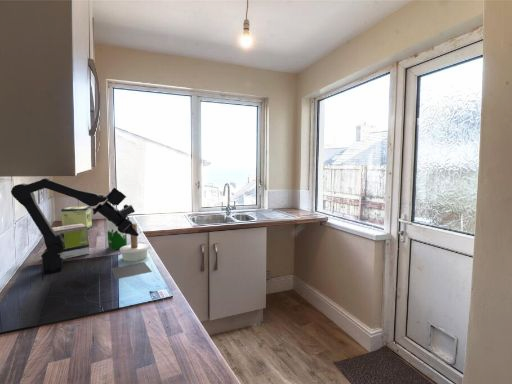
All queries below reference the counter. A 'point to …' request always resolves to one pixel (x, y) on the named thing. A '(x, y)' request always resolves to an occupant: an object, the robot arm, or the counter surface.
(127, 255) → the bowl
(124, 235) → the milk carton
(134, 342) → the counter surface
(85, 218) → the protein box
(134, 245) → the peg on round base
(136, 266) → the mat
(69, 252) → the tea box
